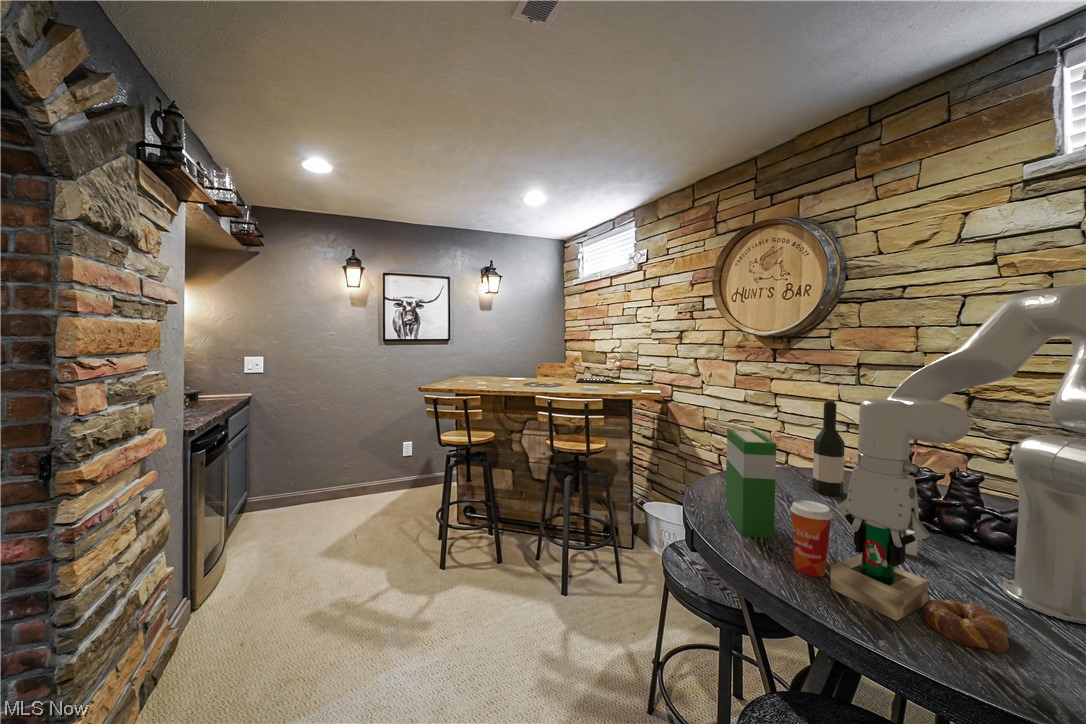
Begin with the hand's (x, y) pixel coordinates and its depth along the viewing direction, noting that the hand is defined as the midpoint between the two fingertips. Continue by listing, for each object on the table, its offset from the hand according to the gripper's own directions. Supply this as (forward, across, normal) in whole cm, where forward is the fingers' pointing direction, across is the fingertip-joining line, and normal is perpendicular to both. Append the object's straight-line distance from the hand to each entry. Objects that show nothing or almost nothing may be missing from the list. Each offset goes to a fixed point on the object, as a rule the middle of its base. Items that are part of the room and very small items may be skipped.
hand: (878, 556), depth 80 cm
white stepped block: (+8, +9, -24) cm, 27 cm away
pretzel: (+8, -12, -3) cm, 15 cm away
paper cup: (+8, +11, +2) cm, 14 cm away
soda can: (+5, 0, 0) cm, 5 cm away
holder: (+8, 0, 0) cm, 8 cm away
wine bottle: (+8, +38, -51) cm, 64 cm away
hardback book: (+8, +34, -7) cm, 35 cm away
